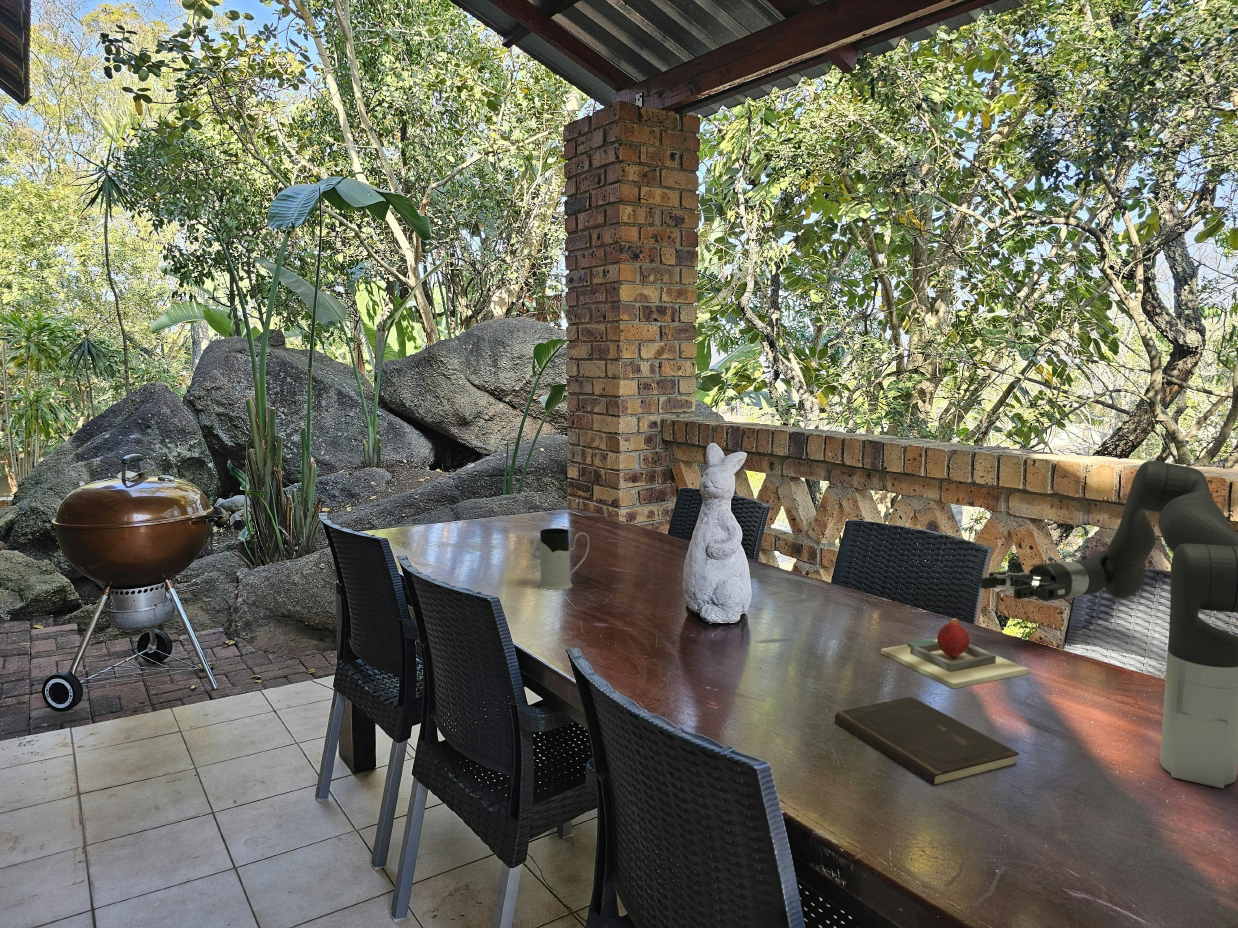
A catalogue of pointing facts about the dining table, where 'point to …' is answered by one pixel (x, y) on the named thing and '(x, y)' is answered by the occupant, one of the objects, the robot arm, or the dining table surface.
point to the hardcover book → (925, 739)
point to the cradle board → (953, 663)
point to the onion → (953, 639)
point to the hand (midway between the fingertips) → (998, 588)
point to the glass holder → (556, 558)
